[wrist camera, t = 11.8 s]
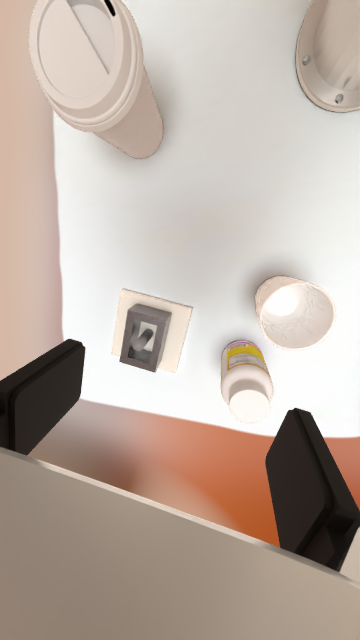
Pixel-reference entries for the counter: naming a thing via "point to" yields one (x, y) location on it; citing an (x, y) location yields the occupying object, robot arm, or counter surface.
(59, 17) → the coffee cup
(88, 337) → the counter surface
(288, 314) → the white cup
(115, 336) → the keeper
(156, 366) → the link
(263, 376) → the supplement bottle
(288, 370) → the counter surface
